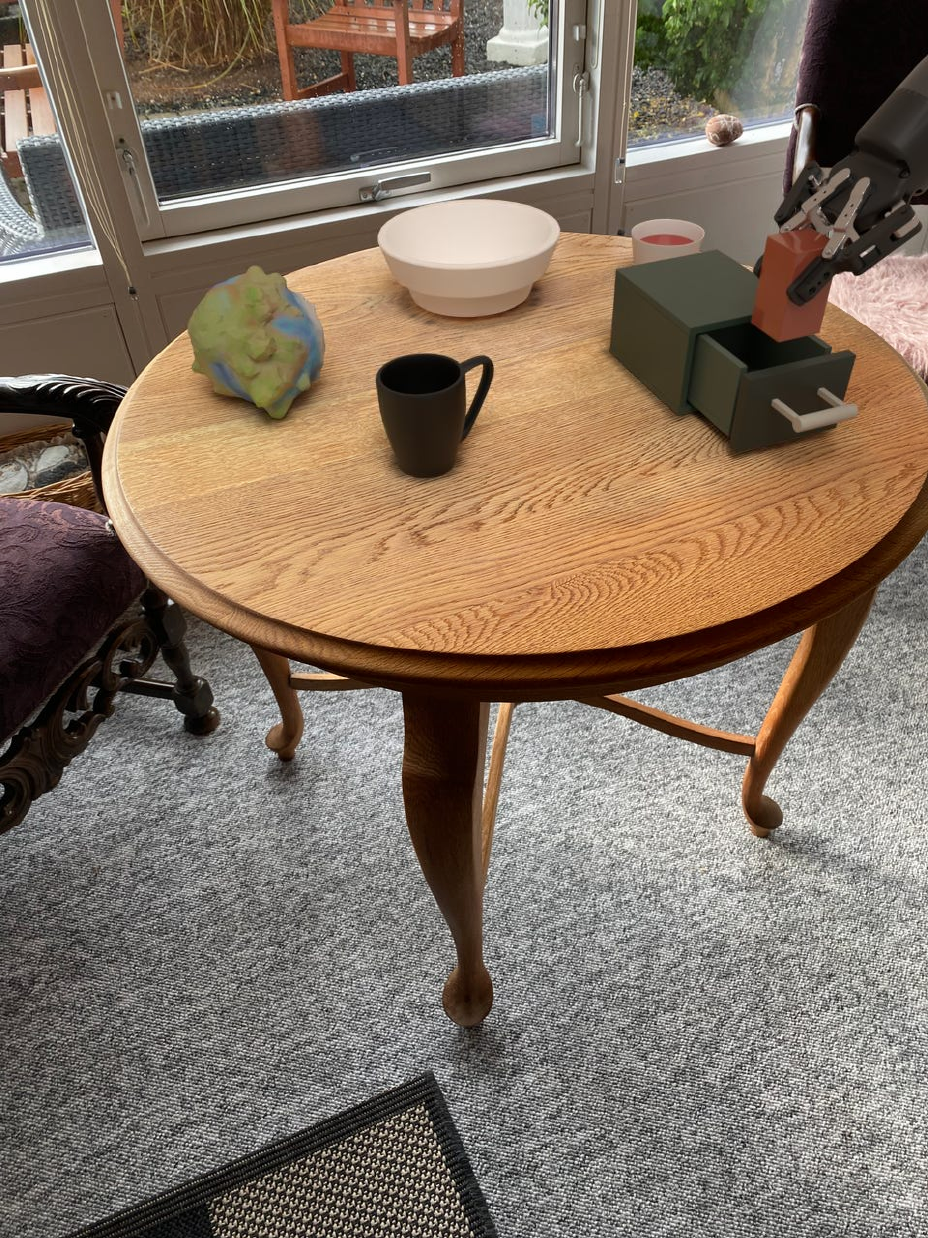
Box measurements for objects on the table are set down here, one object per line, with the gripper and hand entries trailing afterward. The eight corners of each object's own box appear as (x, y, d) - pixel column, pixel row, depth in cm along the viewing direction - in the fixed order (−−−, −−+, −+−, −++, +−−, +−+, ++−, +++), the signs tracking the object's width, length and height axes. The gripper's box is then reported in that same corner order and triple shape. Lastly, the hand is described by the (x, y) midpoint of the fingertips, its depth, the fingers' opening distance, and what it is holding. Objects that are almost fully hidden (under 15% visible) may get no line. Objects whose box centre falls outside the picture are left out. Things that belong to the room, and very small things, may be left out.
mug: (516, 454, 88) (517, 365, 82) (412, 496, 84) (403, 405, 77) (471, 419, 93) (468, 333, 87) (370, 457, 89) (359, 369, 82)
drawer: (868, 453, 84) (892, 378, 79) (764, 481, 82) (782, 405, 76) (752, 363, 98) (766, 294, 92) (659, 385, 95) (668, 314, 90)
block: (790, 313, 84) (809, 226, 79) (819, 333, 81) (841, 244, 76) (750, 322, 83) (766, 235, 78) (778, 342, 80) (797, 253, 75)
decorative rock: (309, 234, 91) (164, 248, 91) (308, 346, 83) (149, 362, 83) (334, 337, 103) (206, 349, 103) (335, 443, 95) (197, 457, 96)
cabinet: (782, 391, 95) (802, 303, 88) (677, 416, 92) (690, 327, 85) (704, 330, 106) (717, 248, 99) (609, 351, 103) (615, 268, 96)
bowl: (374, 272, 122) (367, 208, 116) (533, 253, 124) (534, 190, 119) (396, 346, 106) (389, 276, 100) (579, 323, 108) (583, 253, 103)
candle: (655, 262, 121) (660, 213, 116) (711, 279, 116) (719, 230, 112) (613, 283, 116) (616, 233, 112) (669, 302, 111) (676, 251, 107)
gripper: (856, 67, 76) (710, 236, 81) (980, 107, 66) (805, 296, 72) (890, 127, 81) (750, 282, 86) (1011, 172, 71) (844, 345, 76)
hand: (776, 288), depth 79 cm, fingers closed on block, 4 cm apart
